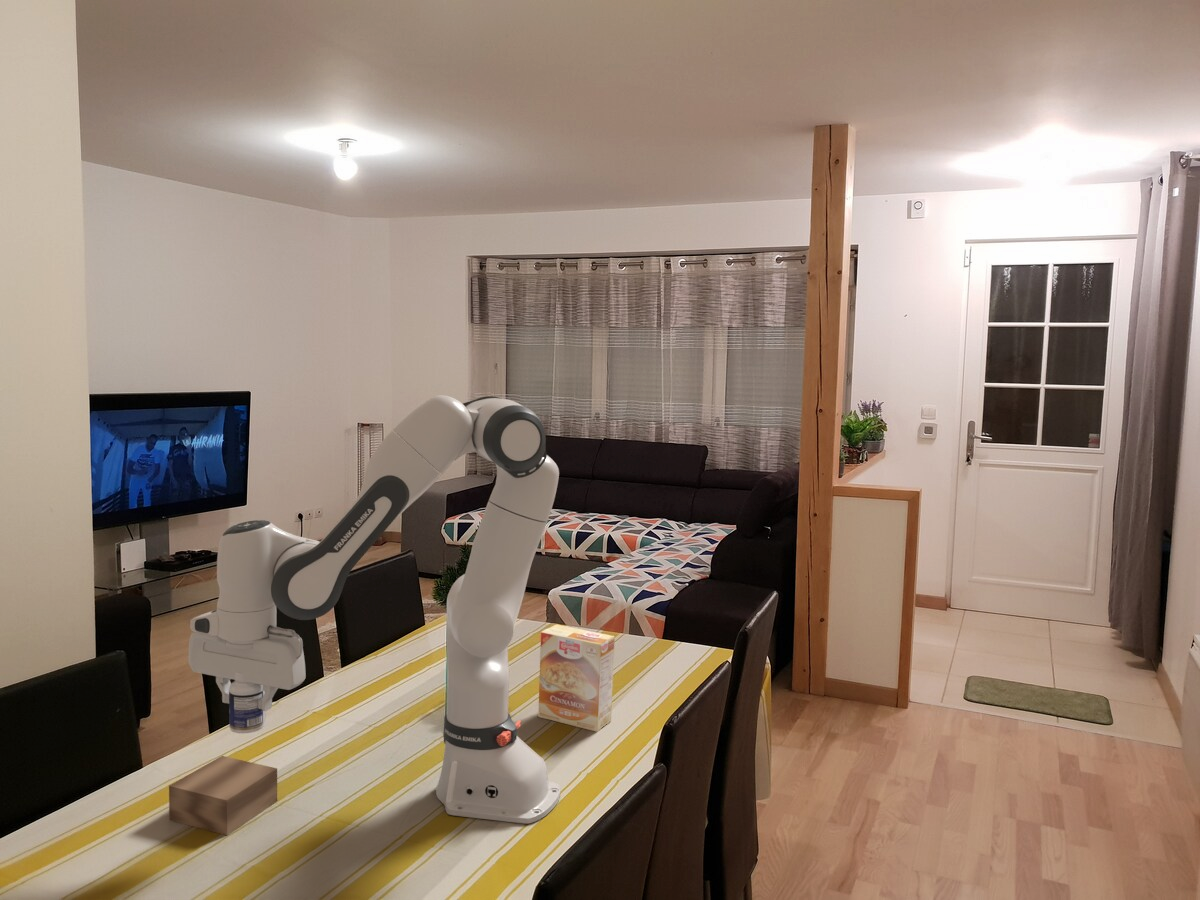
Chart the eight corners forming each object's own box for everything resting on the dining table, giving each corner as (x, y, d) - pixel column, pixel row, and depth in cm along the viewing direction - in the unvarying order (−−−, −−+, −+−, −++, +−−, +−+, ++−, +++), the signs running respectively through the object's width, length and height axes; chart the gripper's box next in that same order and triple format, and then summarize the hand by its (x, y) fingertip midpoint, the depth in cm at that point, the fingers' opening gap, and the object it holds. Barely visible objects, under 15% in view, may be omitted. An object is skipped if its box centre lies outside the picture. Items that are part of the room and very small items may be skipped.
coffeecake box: (537, 717, 193) (539, 631, 191) (553, 706, 200) (556, 623, 198) (597, 732, 187) (600, 643, 184) (612, 721, 193) (615, 634, 191)
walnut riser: (277, 801, 154) (277, 768, 153) (227, 835, 143) (226, 800, 142) (222, 787, 158) (222, 755, 157) (169, 820, 147) (168, 785, 146)
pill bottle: (235, 720, 144) (235, 662, 143) (269, 720, 145) (269, 663, 144) (224, 734, 139) (224, 674, 138) (259, 734, 140) (259, 675, 139)
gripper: (314, 625, 140) (313, 709, 141) (210, 608, 146) (210, 689, 148) (288, 637, 134) (288, 724, 135) (181, 619, 140) (182, 702, 142)
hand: (246, 705), depth 142 cm, fingers closed on pill bottle, 5 cm apart
